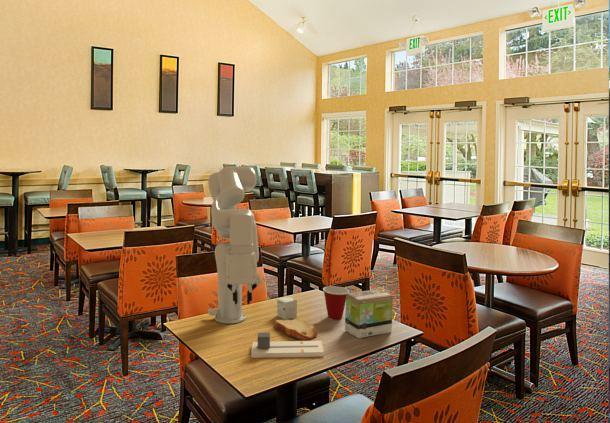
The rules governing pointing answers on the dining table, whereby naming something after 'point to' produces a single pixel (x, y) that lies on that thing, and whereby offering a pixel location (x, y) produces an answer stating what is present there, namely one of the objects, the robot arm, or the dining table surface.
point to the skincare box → (287, 308)
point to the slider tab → (263, 340)
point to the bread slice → (296, 329)
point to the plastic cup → (335, 301)
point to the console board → (289, 349)
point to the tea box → (368, 313)
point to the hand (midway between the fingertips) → (242, 302)
